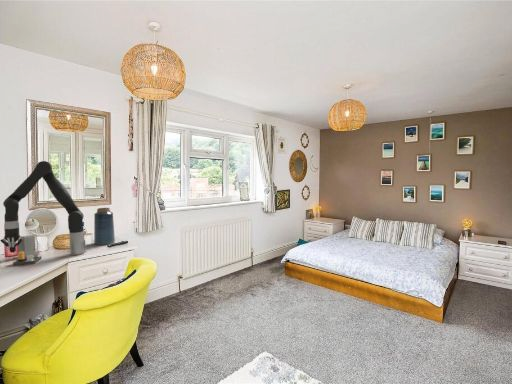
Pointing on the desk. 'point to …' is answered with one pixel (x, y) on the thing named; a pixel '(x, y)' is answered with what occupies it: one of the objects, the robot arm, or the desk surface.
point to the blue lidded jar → (103, 227)
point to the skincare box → (27, 245)
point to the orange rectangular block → (21, 256)
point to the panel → (29, 259)
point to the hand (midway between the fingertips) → (12, 252)
